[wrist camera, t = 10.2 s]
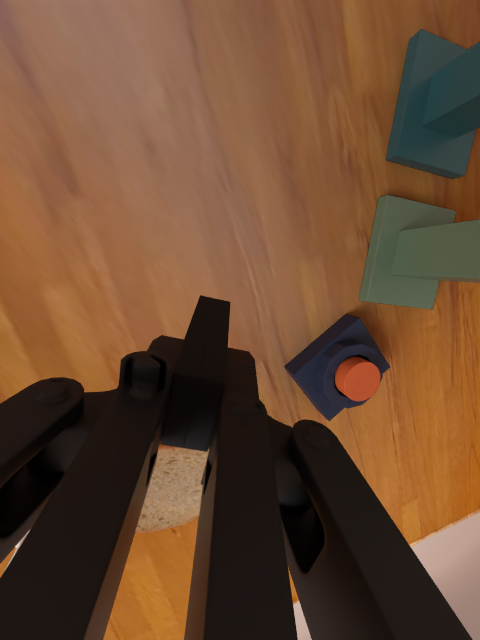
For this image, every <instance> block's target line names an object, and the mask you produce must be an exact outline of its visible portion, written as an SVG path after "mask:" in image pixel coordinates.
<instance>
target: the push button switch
mask: <svg viewBox="0 0 480 640" xmlns="http://www.w3.org/2000/svg"><path fill="white" fill-rule="evenodd" d="M350 357H360V358H362V359H364V360H367V361H369V362H371V363H373V364H374V365H375V366H377V368H378V369H379V372H380V382H381V379H382V374H383V373H384V372H385V371H386V370H387V369H389V368H390V366H389V364H388V363H387V361H386V359H385V358H384V356H383V354H382V353H381V351H380V350H379V348H378V346H377V345H376V343H375V341H374V340H373V338H372V337H371V335H370V333H369V332H368V330H367V328H366V327H365V325H364V324H363V322H362V320H361V319H360V318H359V317H355V316H351V315H348V314H345V315H344V316H343V317H342V318H341V319H339V320H338V321H337V322H336V323H335V324H334V325H332V326H331V327H330V328H329V329H328V330H327V331H325V332H324V333H323V334H322V335H321V336H320V337H318V338H317V339H316V340H315V341H314V342H313V343H311V344H310V345H309V346H308V347H307V348H306V349H304V350H303V351H302V352H301V353H300V354H299V355H297V356H296V357H295V358H294V359H293V360H291V361H290V362H289V363H288V364H287V365H286V366H285V369H286V370H287V371H288V373H289V374H290V375H291V376H292V378H293V379H294V380H295V382H296V383H297V384H298V385H299V387H300V388H301V389H302V391H303V392H304V393H305V394H306V396H307V397H308V398H309V400H310V401H311V402H312V403H313V405H314V406H315V407H316V409H317V410H318V411H319V412H320V413H321V414H322V415H323V416H324V417H325V418H326V419H327V420H328V421H330V420H331V419H332V418H333V417H334V416H336V415H337V414H338V413H339V412H340V411H341V410H342V409H343V408H351V407H355V406H359V405H362V404H364V403H365V402H366V401H367V400H368V399H369V398H368V399H366V400H364V401H354V400H352V399H350V398H349V397H347V396H346V395H344V394H343V393H342V392H340V391H339V390H338V389H337V387H336V385H335V372H336V370H337V368H338V366H339V365H340V364H341V363H342V362H343V361H344V360H346V359H347V358H350ZM375 393H376V392H375ZM375 393H374V394H375ZM374 394H373V395H374ZM373 395H372V396H373Z"/></svg>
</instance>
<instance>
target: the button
mask: <svg viewBox="0 0 480 640" xmlns="http://www.w3.org/2000/svg"><path fill="white" fill-rule="evenodd" d="M379 384H380V372H379V369H378V368H377V366H375V365H374V364H373V363H371V362H369V361H367V360H364V359H362V358H360V357H350V358H347V359H346V360H344V361H343V362H342V363H341V364H340V365H339V366H338V368H337V370H336V372H335V385H336V387H337V389H338V390H339V391H340V392H342V393H343V394H344V395H346V396H347V397H349V398H350V399H352V400H354V401H364V400H366V399H368V398H370V397H371V396H372V395H373V394H374V393H375V392H376V391H377V389H378V387H379Z"/></svg>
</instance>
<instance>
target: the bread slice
mask: <svg viewBox="0 0 480 640" xmlns="http://www.w3.org/2000/svg"><path fill="white" fill-rule="evenodd" d="M160 443H161V442H160ZM208 452H209V448H208ZM208 452H204V451H198V450H192V449H186V448H179V447H173V446H167V445H161V444H160V445H159V448H158V454H157V460H156V464H155V467H154V470H153V474H152V477H151V480H150V484H149V487H148V490H147V494H146V497H145V500H144V504H143V507H142V511H141V514H140V517H139V521H138V524H137V527H136V531H135V533H149V532H152V531H162V530H165V529H168V528H172V527H178V526H181V525H183V524H187V523H189V522H192V521H194V520H195V519H196V518H198V517H199V512H200V504H201V495H202V487H203V485H201V480H202V476H203V472H204V469H205V465H206V461H207V457H208Z"/></svg>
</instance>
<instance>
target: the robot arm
mask: <svg viewBox="0 0 480 640" xmlns="http://www.w3.org/2000/svg"><path fill="white" fill-rule="evenodd" d="M229 315H230V302H228V301H224V300H219V299H214V298H210V297H205V296H201V295H200V298H199V300H198V303H197V306H196V309H195V311H194V314H193V317H192V320H191V322H190V325H189V328H188V331H187V333H186V336H185V339H184V340H183V339H178V338H173V337H168V336H163V335H161V336H160V337H158V338H156V339H154V340H153V341H152V343H151V345H150V346H149V349H148V350H147V351H140V352H134V353H131V354H128V355H126V356H125V357H124V358H123V359H121V366H120V379H119V386H118V388H117V389H114V390H110V391H104V392H86V393H84V388H83V386H82V385H81V383H79V382H77V381H76V380H74V379H69V378H64V377H61V378H49V379H45V380H41V381H38V382H36V383H34V384H32V385H30V386H28V387H27V388H25V389H23V390H22V391H20V392H19V393H17V394H15V395H14V396H12V397H10V398H9V399H7V400H6V401H4V402H2V403H1V404H0V563H1V562H2V561H3V560H4V559H5V558H6V557H7V555H8V554H9V553H10V552H11V551H12V550H13V549H14V547H15V546H16V545H17V544H18V543H19V542H20V541H21V539H22V538H23V537H24V536H25V535H26V534H27V533H28V531H29V530H30V531H29V533H28V534H27V536H26V537H25V539H24V541H23V542H22V544H21V546H20V547H19V549H18V550H17V552H16V554H15V555H14V557H13V559H12V560H11V562H10V564H9V565H8V567H7V568H6V570H5V572H4V573H3V575H2V577H1V578H0V640H103V638H104V634H105V631H106V628H107V624H108V621H109V618H110V614H111V611H112V608H113V604H114V601H115V598H116V594H117V591H118V588H119V584H120V581H121V577H122V574H123V571H124V567H125V564H126V561H127V557H128V554H129V551H130V547H131V544H132V541H133V537H134V534H135V531H136V527H137V524H138V521H139V517H140V514H141V511H142V507H143V504H144V500H145V497H146V494H147V490H148V487H149V484H150V480H151V477H152V474H153V470H154V467H155V464H156V460H157V454H158V448H159V445H160V444H161V445H167V446H173V447H179V448H186V449H192V450H198V451H204V452H208V448H209V452H208V457H207V461H206V465H205V469H204V472H203V476H202V480H201V485H203V487H202V495H201V504H200V512H199V520H198V529H197V537H196V545H195V554H194V562H193V570H192V579H191V587H190V595H189V604H188V612H187V620H186V629H185V637H184V640H297V631H296V624H295V617H294V609H293V602H292V594H291V587H290V580H289V572H288V567H289V570H290V573H291V577H292V580H293V583H294V586H295V589H296V592H297V595H298V598H299V601H300V604H301V607H302V611H303V614H304V617H305V620H306V623H307V626H308V629H309V632H310V635H311V638H312V640H472V638H471V637H470V635H469V634H468V632H467V631H466V629H465V628H464V626H463V625H462V623H461V622H460V620H459V619H458V617H457V616H456V615H455V613H454V611H453V610H452V609H451V607H450V605H449V604H448V602H447V601H446V599H445V598H444V597H443V595H442V593H441V592H440V590H439V589H438V588H437V586H436V585H435V583H434V582H433V580H432V579H431V577H430V576H429V574H428V573H427V571H426V570H425V568H424V567H423V565H422V564H421V562H420V561H419V559H418V558H417V556H416V555H415V553H414V552H413V550H412V549H411V547H410V546H409V544H408V543H407V541H406V540H405V538H404V537H403V535H402V534H401V532H400V531H399V529H398V528H397V526H396V525H395V523H394V522H393V520H392V519H391V517H390V516H389V514H388V513H387V511H386V510H385V508H384V507H383V505H382V504H381V502H380V501H379V499H378V498H377V496H376V495H375V493H374V492H373V490H372V489H371V487H370V486H369V484H368V483H367V481H366V480H365V479H364V477H363V476H362V474H361V473H360V471H359V470H358V468H357V467H356V465H355V464H354V462H353V461H352V459H351V458H350V456H349V455H348V453H347V452H346V450H345V449H344V447H343V446H342V444H341V443H340V441H339V440H338V438H337V437H336V436H335V435H334V433H333V432H332V431H331V430H330V429H328V428H327V427H326V426H324V425H323V424H320V423H318V422H316V421H312V420H306V419H305V420H300V421H298V422H297V423H295V424H294V426H293V428H292V427H290V426H287V425H285V424H283V423H280V422H278V421H276V420H275V419H273V418H271V417H270V416H269V415H268V414H267V411H266V408H265V406H264V404H263V403H262V402H261V401H260V400H259V394H258V385H257V376H256V369H255V368H256V367H255V359H254V358H253V357H252V355H251V354H250V353H249V352H248V351H243V350H238V349H233V348H228V332H229ZM160 442H161V443H160ZM287 564H288V565H287Z"/></svg>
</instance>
